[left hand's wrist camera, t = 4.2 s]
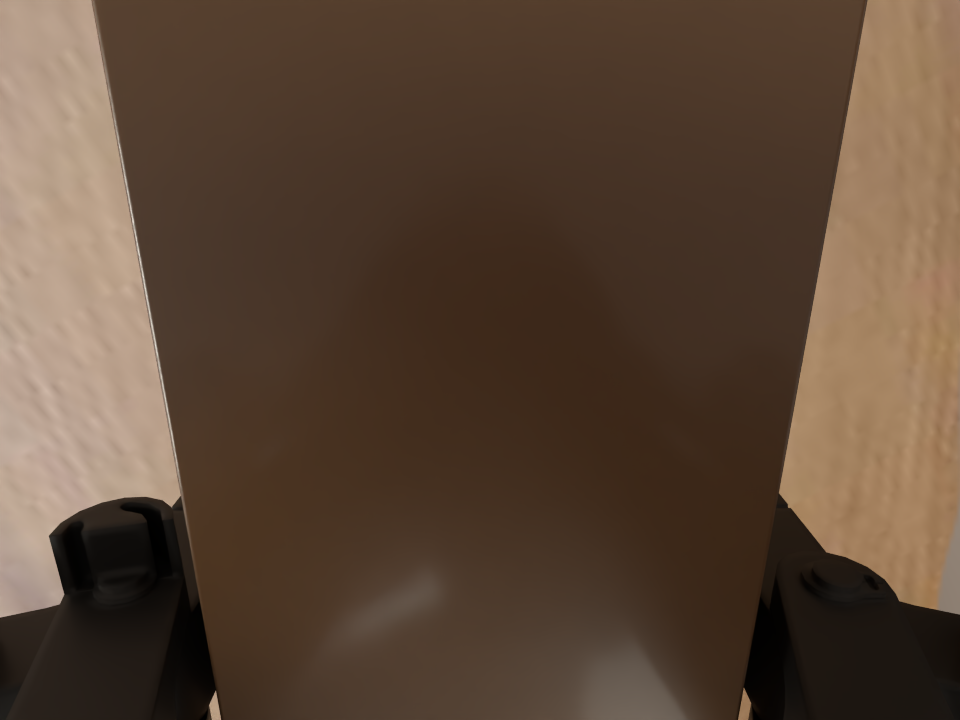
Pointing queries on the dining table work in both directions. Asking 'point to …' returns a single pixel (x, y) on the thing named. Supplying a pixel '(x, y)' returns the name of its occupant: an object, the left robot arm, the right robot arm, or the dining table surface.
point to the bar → (479, 335)
